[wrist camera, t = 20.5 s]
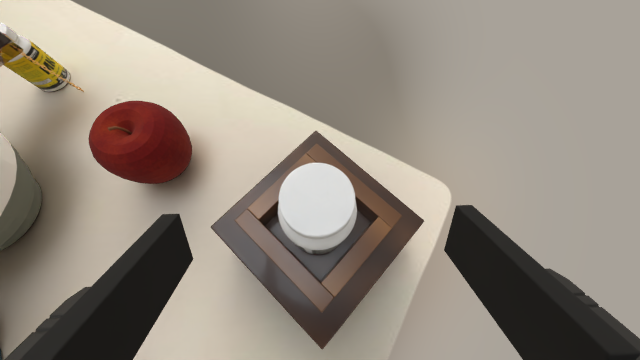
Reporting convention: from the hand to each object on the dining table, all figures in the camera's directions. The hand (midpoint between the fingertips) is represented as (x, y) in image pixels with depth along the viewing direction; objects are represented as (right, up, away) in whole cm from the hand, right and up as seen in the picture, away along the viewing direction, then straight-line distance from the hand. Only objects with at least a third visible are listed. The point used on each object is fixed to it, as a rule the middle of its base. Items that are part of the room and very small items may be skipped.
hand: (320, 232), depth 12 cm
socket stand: (0, -4, +20) cm, 20 cm away
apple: (-21, +5, +23) cm, 31 cm away
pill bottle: (0, -2, +12) cm, 12 cm away
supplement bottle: (-42, +18, +27) cm, 54 cm away
